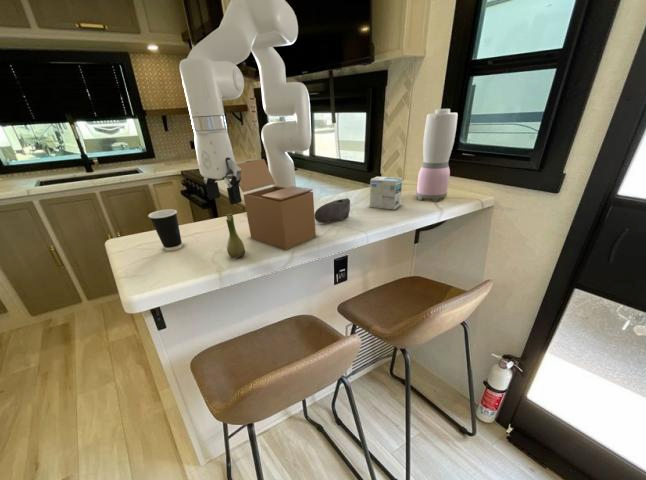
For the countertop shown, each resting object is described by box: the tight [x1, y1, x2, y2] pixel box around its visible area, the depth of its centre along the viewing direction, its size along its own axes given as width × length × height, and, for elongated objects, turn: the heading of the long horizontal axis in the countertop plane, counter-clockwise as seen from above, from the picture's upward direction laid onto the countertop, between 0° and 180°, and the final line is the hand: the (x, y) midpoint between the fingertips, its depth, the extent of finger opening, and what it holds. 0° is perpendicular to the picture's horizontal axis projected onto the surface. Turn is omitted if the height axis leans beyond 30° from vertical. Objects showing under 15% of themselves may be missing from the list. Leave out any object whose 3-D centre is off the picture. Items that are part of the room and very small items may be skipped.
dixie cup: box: [147, 208, 183, 251], centre depth 95 cm, size 8×8×11 cm
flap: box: [235, 158, 275, 193], centre depth 97 cm, size 8×13×1 cm
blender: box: [415, 108, 459, 202], centre depth 124 cm, size 16×12×32 cm
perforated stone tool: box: [314, 197, 351, 224], centre depth 110 cm, size 15×5×7 cm, turn 116°
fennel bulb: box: [225, 213, 246, 259], centre depth 86 cm, size 6×5×12 cm
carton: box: [242, 186, 317, 251], centre depth 96 cm, size 17×13×15 cm
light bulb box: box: [369, 176, 403, 210], centre depth 121 cm, size 11×7×11 cm, turn 58°
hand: (225, 200), depth 80 cm, fingers open, 9 cm apart
